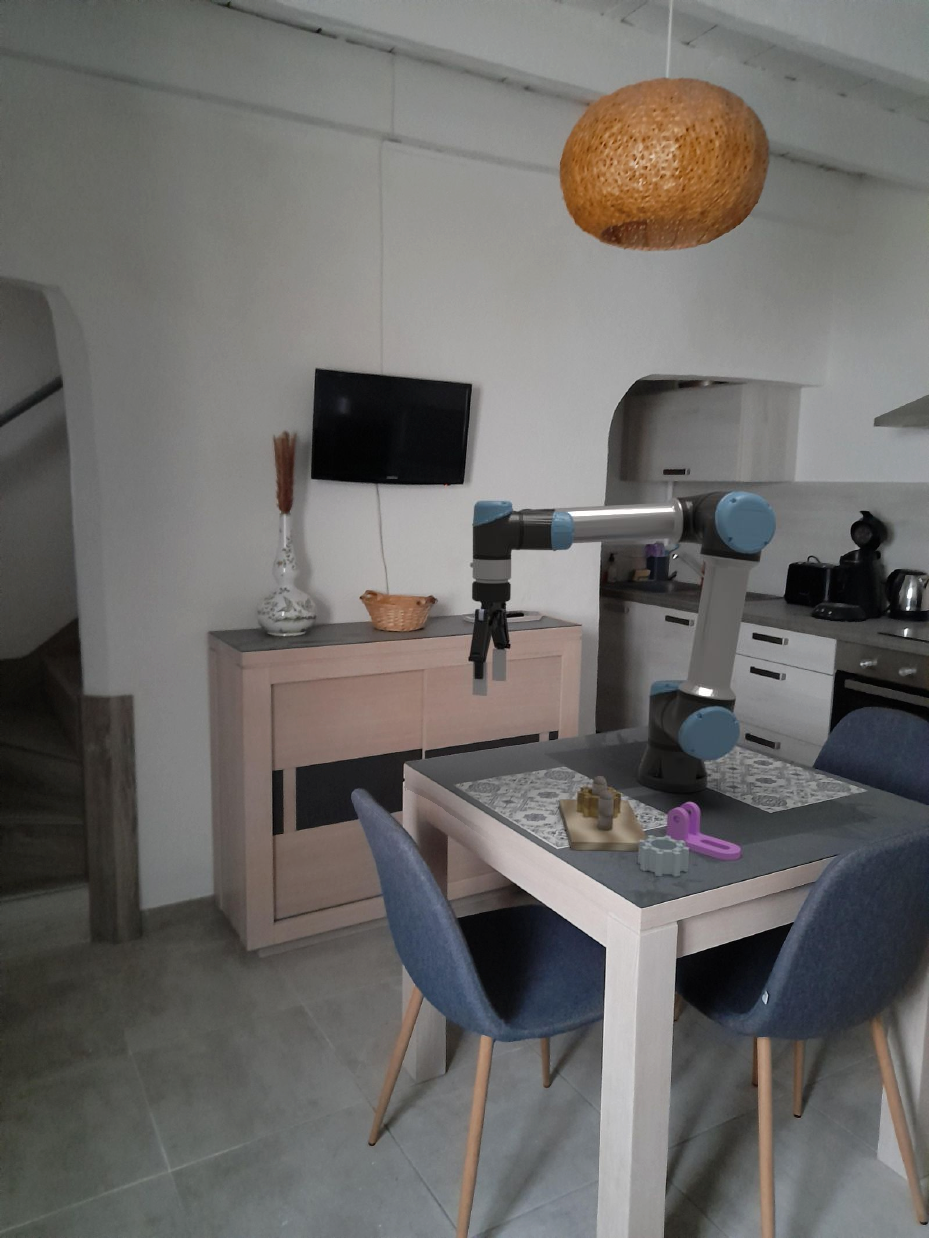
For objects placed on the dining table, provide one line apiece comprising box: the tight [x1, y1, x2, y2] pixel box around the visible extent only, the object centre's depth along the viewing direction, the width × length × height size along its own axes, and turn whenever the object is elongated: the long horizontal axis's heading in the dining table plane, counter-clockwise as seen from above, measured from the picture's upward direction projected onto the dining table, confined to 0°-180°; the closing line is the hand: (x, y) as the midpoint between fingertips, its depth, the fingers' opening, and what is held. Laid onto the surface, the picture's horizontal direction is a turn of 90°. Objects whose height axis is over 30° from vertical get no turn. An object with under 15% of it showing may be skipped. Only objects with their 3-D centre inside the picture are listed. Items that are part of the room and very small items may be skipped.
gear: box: [637, 834, 690, 878], centre depth 153 cm, size 8×8×4 cm
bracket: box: [665, 801, 742, 861], centre depth 161 cm, size 13×6×7 cm, turn 47°
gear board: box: [558, 775, 647, 852], centre depth 170 cm, size 14×22×9 cm, turn 0°
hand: (489, 687), depth 175 cm, fingers open, 13 cm apart
